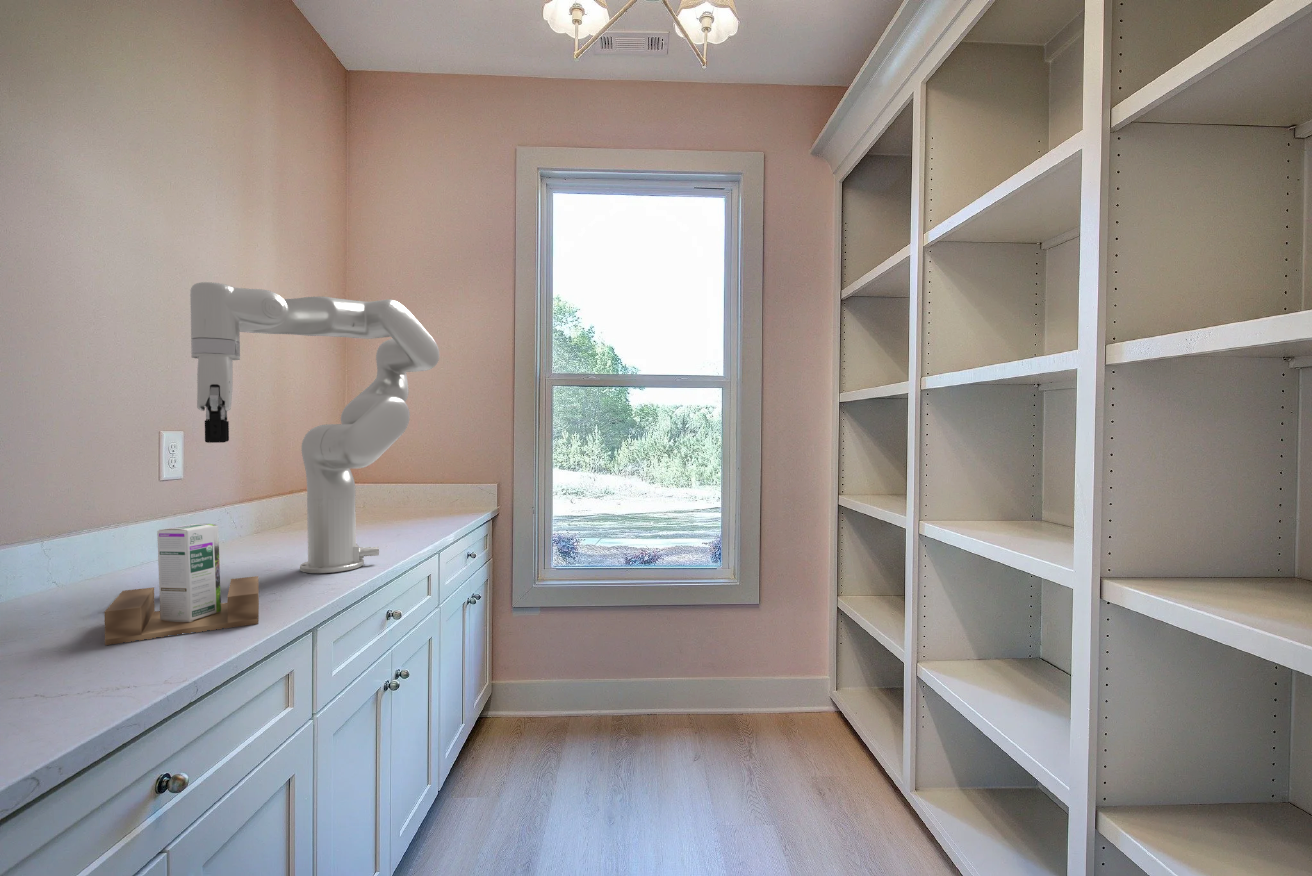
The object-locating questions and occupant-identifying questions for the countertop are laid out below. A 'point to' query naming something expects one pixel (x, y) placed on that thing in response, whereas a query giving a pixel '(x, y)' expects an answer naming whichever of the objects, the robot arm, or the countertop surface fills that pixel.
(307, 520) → the robot arm
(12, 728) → the countertop surface
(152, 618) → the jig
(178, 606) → the syrup box
